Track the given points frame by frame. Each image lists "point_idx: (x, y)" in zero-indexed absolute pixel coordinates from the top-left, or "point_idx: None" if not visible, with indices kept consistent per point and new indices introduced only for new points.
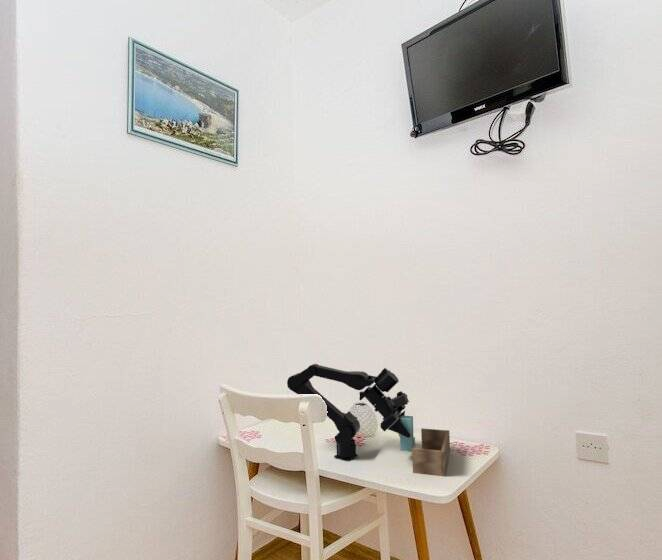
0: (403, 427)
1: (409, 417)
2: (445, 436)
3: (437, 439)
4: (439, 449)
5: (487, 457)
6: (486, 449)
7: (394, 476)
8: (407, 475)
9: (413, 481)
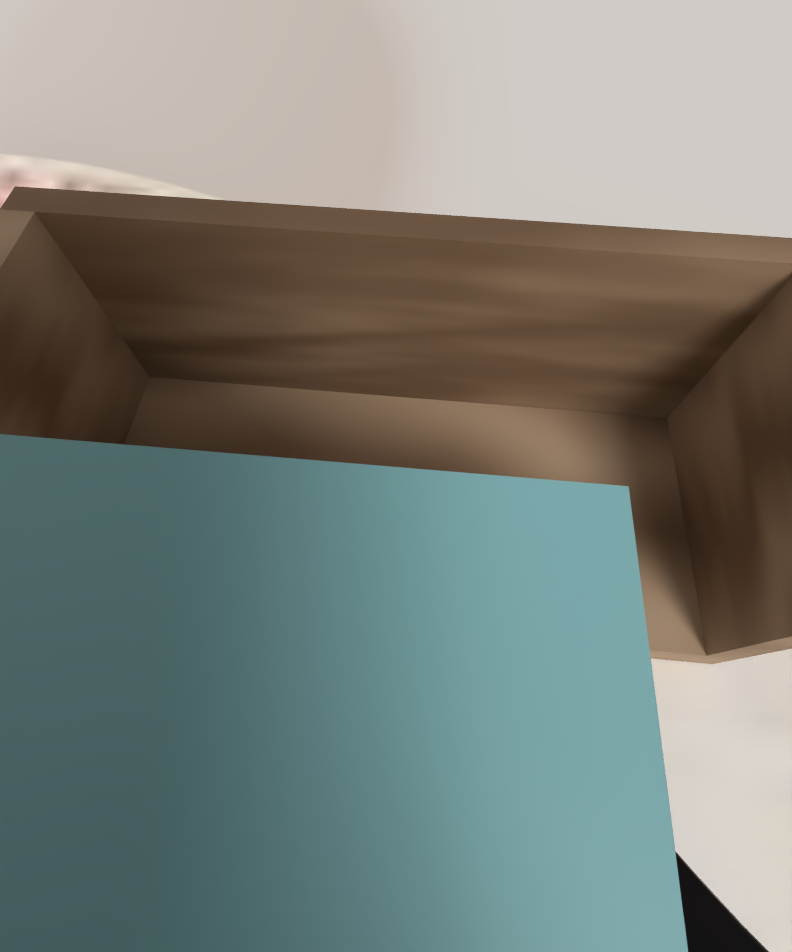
0: (707, 907)
1: (236, 611)
2: (258, 221)
3: (59, 377)
4: (120, 422)
5: (184, 191)
6: (36, 184)
7: (771, 876)
8: (683, 724)
9: (789, 655)
